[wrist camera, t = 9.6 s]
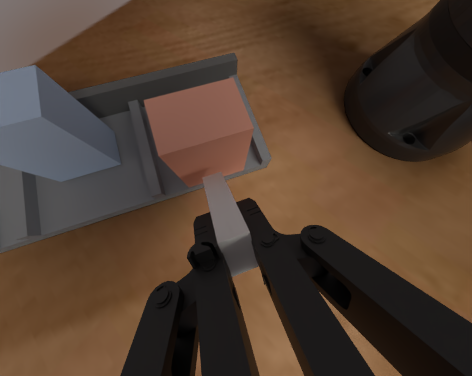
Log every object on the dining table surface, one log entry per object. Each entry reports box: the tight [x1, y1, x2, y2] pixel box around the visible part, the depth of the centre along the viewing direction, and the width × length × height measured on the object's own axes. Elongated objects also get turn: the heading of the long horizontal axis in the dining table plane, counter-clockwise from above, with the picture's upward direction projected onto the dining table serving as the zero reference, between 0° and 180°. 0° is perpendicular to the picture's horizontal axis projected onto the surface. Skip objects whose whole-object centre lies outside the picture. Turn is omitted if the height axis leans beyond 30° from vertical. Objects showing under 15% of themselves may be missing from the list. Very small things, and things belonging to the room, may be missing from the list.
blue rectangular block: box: [0, 65, 121, 182], centre depth 14 cm, size 6×4×8 cm, turn 109°
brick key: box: [144, 77, 254, 187], centre depth 15 cm, size 6×4×8 cm, turn 109°
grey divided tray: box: [0, 53, 271, 253], centre depth 18 cm, size 36×12×4 cm, turn 109°
